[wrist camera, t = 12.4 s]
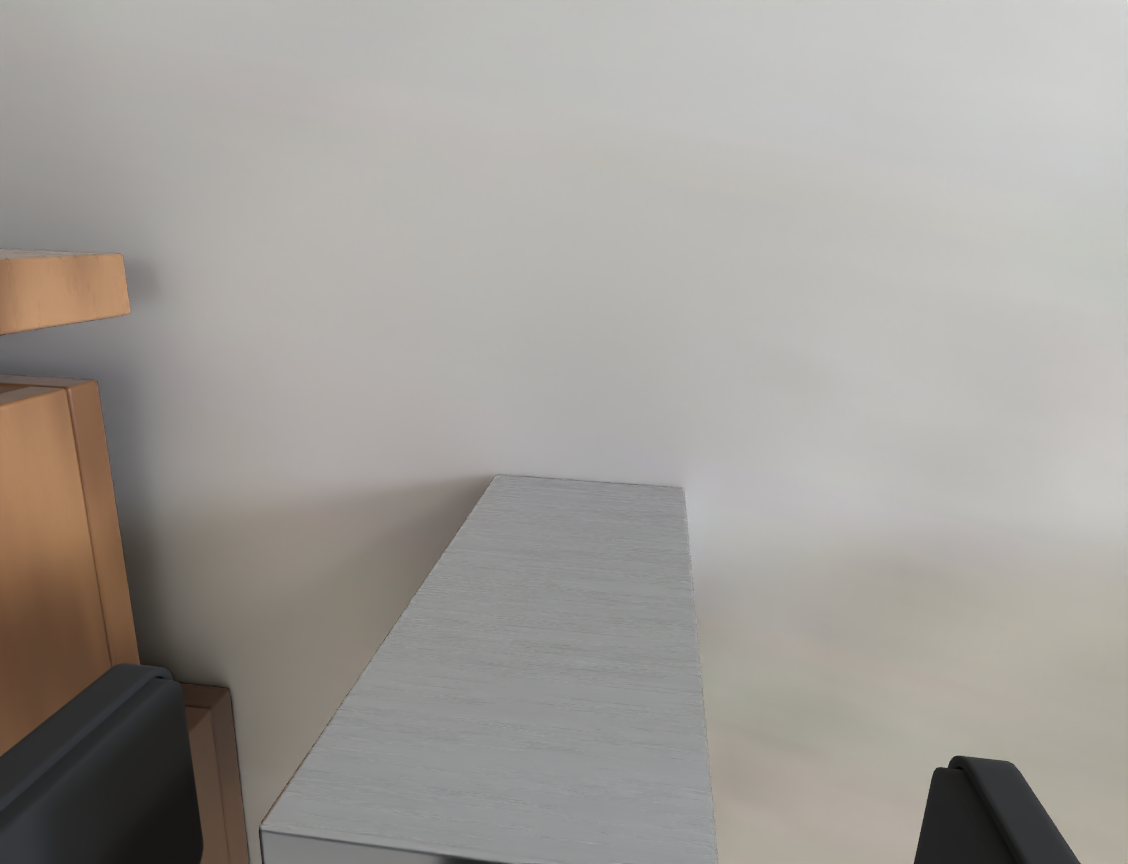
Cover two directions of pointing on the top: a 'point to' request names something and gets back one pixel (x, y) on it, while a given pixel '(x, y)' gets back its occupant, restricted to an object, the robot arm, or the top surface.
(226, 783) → the cabinet
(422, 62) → the top surface
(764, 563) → the top surface
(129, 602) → the drawer
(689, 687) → the grater
